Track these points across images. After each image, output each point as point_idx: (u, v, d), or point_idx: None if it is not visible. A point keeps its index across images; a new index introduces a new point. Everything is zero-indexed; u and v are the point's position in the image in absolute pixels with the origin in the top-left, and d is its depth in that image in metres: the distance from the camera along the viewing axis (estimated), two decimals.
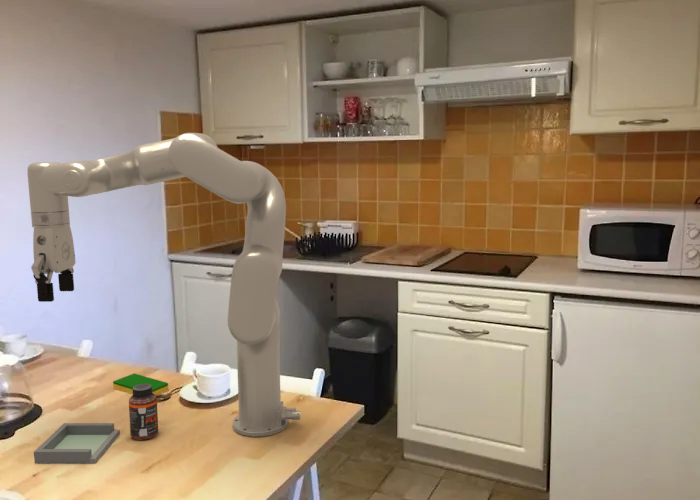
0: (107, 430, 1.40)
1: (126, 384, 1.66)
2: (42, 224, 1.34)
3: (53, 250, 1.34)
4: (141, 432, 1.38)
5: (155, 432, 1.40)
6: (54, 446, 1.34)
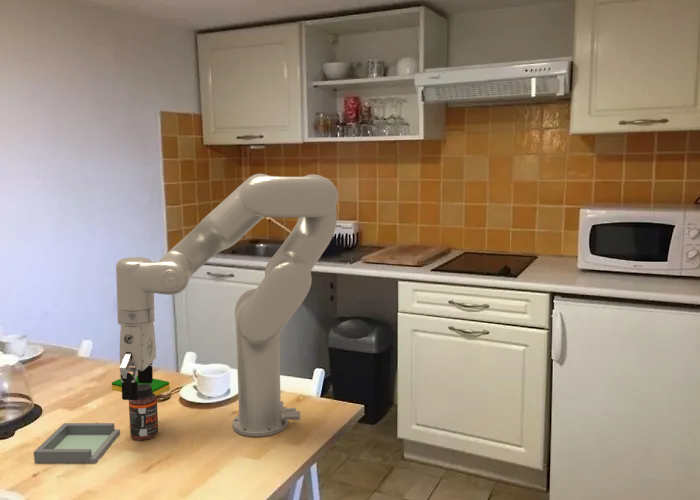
0: (107, 430, 1.40)
1: None
2: (129, 322, 1.33)
3: (140, 349, 1.33)
4: (141, 432, 1.38)
5: (155, 432, 1.40)
6: (54, 446, 1.34)
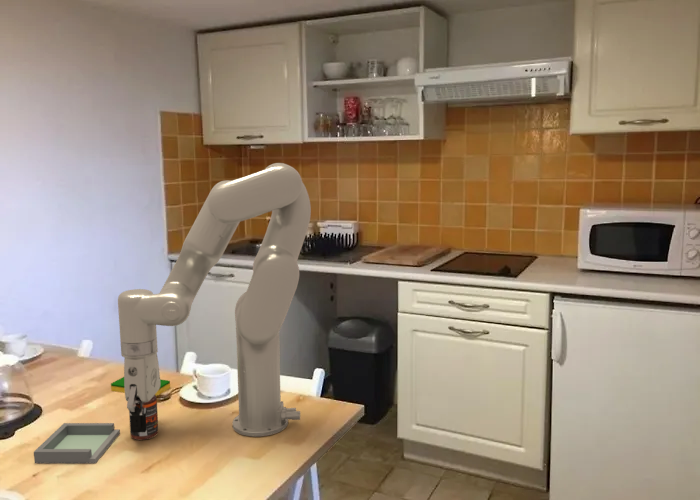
0: (107, 430, 1.40)
1: None
2: (133, 355, 1.34)
3: (144, 381, 1.34)
4: (141, 432, 1.38)
5: (155, 432, 1.40)
6: (54, 446, 1.34)
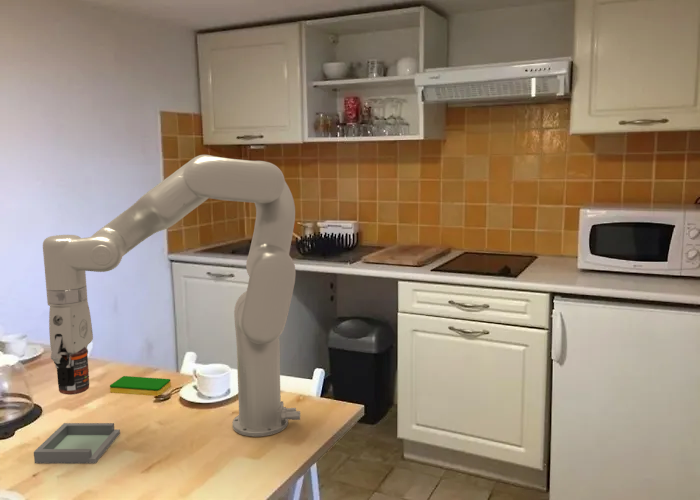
0: (107, 430, 1.40)
1: (128, 386, 1.65)
2: (58, 303, 1.26)
3: (70, 331, 1.26)
4: (69, 386, 1.30)
5: (85, 387, 1.32)
6: (54, 446, 1.34)
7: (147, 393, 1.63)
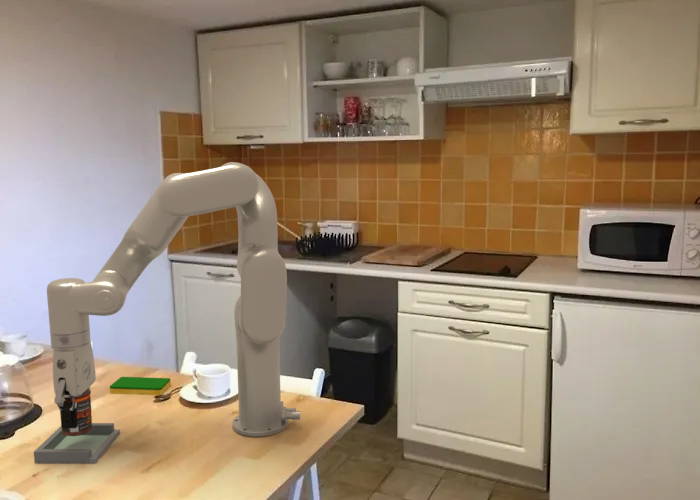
0: (107, 430, 1.40)
1: (128, 386, 1.64)
2: (62, 347, 1.28)
3: (74, 374, 1.27)
4: None
5: (88, 428, 1.33)
6: (54, 446, 1.34)
7: (149, 393, 1.64)
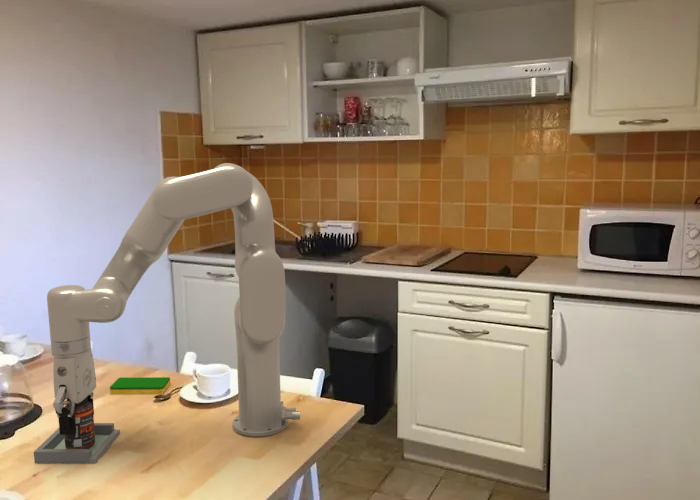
0: (107, 430, 1.40)
1: (129, 386, 1.64)
2: (63, 354, 1.28)
3: (74, 381, 1.28)
4: (76, 442, 1.32)
5: (91, 442, 1.34)
6: (54, 446, 1.34)
7: (151, 392, 1.64)
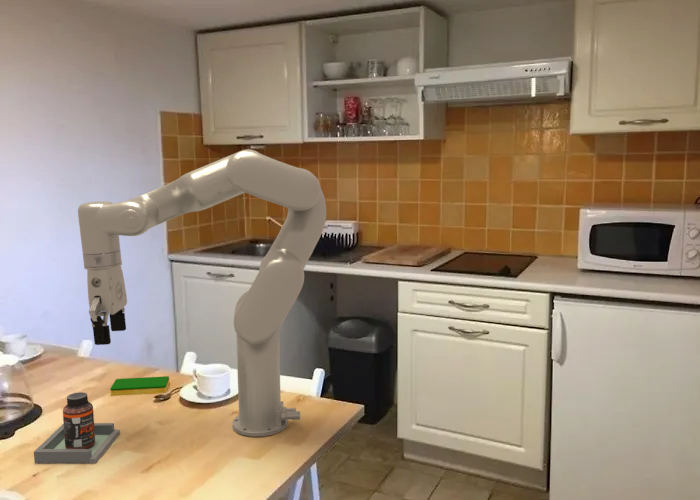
0: (107, 430, 1.40)
1: (131, 386, 1.64)
2: (96, 266, 1.31)
3: (108, 292, 1.31)
4: (76, 442, 1.32)
5: (91, 443, 1.34)
6: (54, 446, 1.34)
7: (153, 391, 1.64)
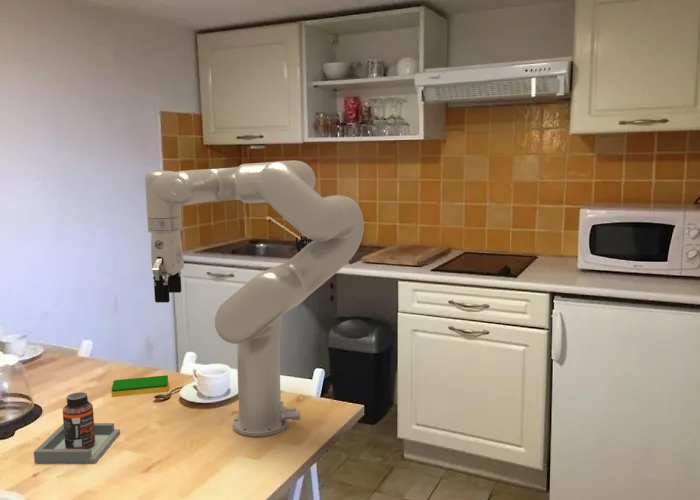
0: (107, 430, 1.40)
1: (132, 387, 1.64)
2: (159, 229, 1.43)
3: (170, 254, 1.43)
4: (76, 443, 1.32)
5: (91, 443, 1.34)
6: (54, 446, 1.34)
7: (155, 390, 1.65)
